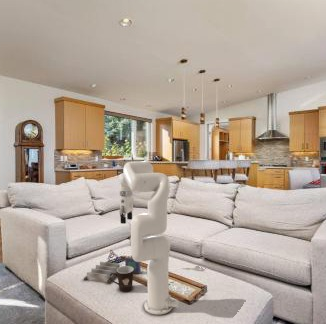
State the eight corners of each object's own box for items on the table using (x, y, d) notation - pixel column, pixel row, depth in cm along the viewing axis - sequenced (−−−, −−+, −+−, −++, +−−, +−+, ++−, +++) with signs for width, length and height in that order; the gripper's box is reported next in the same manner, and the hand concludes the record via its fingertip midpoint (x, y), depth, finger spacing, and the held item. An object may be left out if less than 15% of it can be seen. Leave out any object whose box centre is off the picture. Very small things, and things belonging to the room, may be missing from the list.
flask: (141, 272, 149) (140, 254, 148) (139, 274, 146) (139, 256, 146) (126, 270, 151) (125, 253, 151) (124, 273, 148) (124, 254, 148)
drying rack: (122, 270, 152) (122, 263, 152) (108, 283, 136) (108, 276, 136) (99, 267, 157) (99, 260, 157) (84, 280, 141) (83, 272, 141)
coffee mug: (136, 285, 133) (136, 266, 133) (130, 294, 125) (130, 274, 125) (115, 283, 136) (115, 264, 136) (108, 291, 128) (108, 271, 128)
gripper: (125, 195, 147) (126, 225, 147) (136, 191, 163) (137, 218, 164) (114, 195, 149) (114, 224, 150) (126, 191, 166) (126, 217, 166)
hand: (126, 221), depth 157 cm, fingers open, 9 cm apart
